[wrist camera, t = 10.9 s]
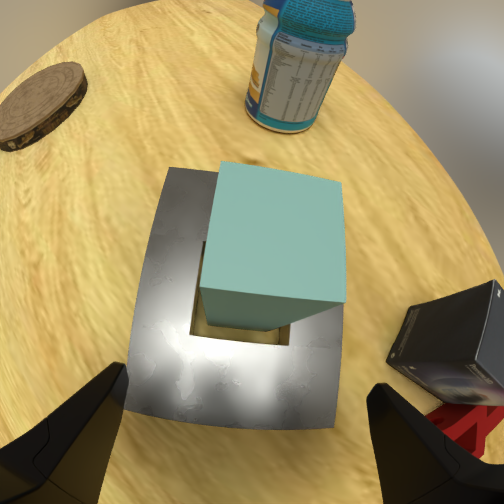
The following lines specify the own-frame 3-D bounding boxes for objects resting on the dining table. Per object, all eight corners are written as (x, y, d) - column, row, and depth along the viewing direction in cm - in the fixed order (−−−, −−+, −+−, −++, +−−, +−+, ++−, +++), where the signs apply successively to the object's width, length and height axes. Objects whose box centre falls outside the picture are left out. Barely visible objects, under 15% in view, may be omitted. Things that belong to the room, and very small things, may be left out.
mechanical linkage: (401, 483, 16) (431, 497, 12) (400, 428, 18) (434, 437, 14) (489, 417, 19) (517, 417, 15) (488, 369, 21) (518, 365, 17)
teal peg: (266, 331, 20) (345, 302, 8) (207, 325, 20) (199, 286, 8) (271, 275, 22) (341, 182, 10) (214, 268, 21) (220, 161, 9)
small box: (381, 365, 20) (474, 362, 11) (408, 303, 23) (493, 271, 13) (443, 406, 19) (522, 409, 10) (464, 352, 22) (539, 338, 12)
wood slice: (110, 81, 28) (106, 65, 25) (27, 166, 22) (15, 151, 19) (52, 72, 29) (47, 60, 26) (-15, 140, 23) (-23, 129, 20)
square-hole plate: (318, 418, 18) (333, 427, 15) (135, 401, 17) (123, 409, 14) (327, 210, 24) (340, 194, 22) (173, 187, 23) (169, 166, 20)
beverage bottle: (280, 147, 26) (345, -40, 8) (227, 103, 28) (252, -62, 9) (328, 121, 29) (397, -21, 10) (279, 83, 31) (318, -51, 12)
